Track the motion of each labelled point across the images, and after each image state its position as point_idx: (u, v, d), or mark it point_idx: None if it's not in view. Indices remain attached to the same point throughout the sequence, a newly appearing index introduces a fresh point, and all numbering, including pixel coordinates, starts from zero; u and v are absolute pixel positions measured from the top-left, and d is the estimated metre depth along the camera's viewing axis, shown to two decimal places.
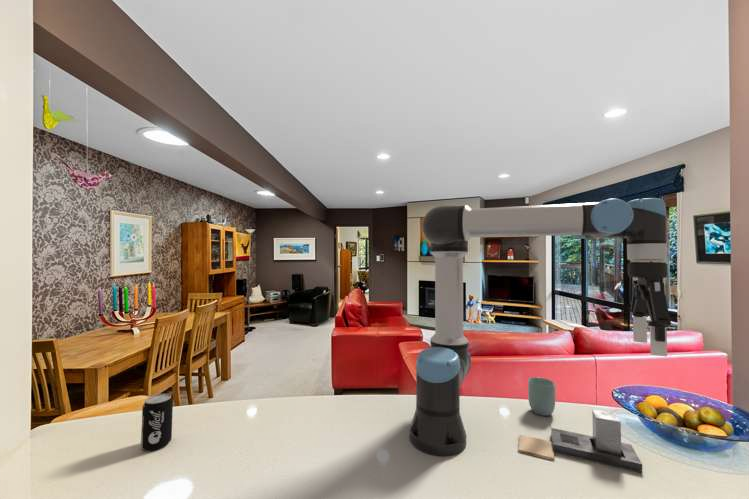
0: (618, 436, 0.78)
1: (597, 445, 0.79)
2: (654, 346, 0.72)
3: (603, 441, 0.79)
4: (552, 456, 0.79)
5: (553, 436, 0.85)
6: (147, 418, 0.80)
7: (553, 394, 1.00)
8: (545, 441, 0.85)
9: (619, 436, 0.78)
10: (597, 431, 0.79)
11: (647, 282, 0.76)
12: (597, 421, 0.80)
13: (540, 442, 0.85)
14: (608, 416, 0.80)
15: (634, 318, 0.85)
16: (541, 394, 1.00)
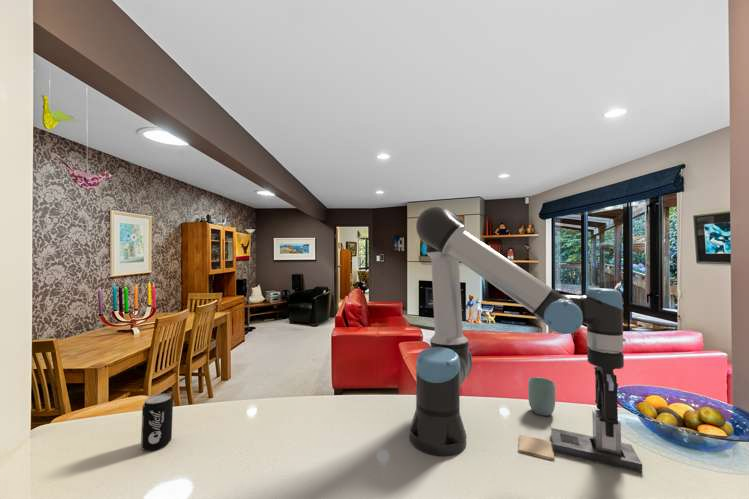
0: (618, 436, 0.78)
1: (597, 445, 0.79)
2: (605, 440, 0.78)
3: None
4: (552, 456, 0.79)
5: (553, 436, 0.85)
6: (147, 418, 0.80)
7: (553, 394, 1.00)
8: (545, 441, 0.85)
9: (619, 436, 0.78)
10: (597, 431, 0.79)
11: (604, 374, 0.78)
12: (597, 421, 0.80)
13: (540, 442, 0.85)
14: None
15: None
16: (541, 394, 1.00)
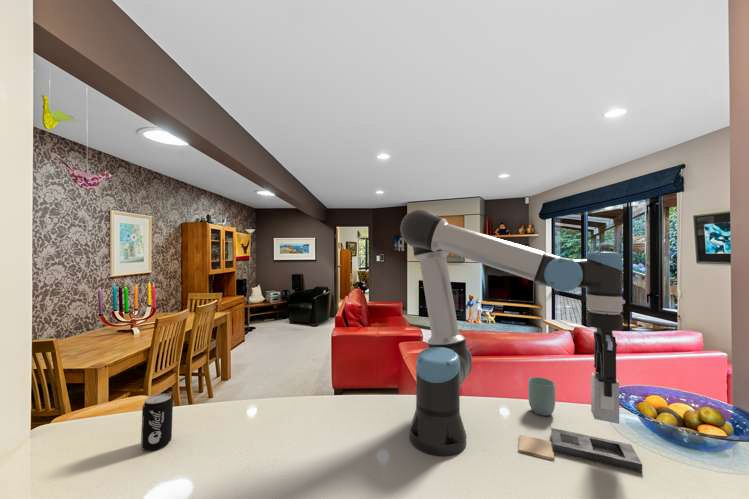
0: (616, 396, 0.78)
1: (595, 406, 0.80)
2: (603, 400, 0.79)
3: None
4: (552, 456, 0.79)
5: (553, 436, 0.85)
6: (147, 418, 0.80)
7: (553, 394, 1.00)
8: (545, 441, 0.85)
9: (617, 396, 0.78)
10: (595, 392, 0.80)
11: (603, 335, 0.79)
12: (596, 382, 0.80)
13: (540, 442, 0.85)
14: None
15: None
16: (541, 394, 1.00)
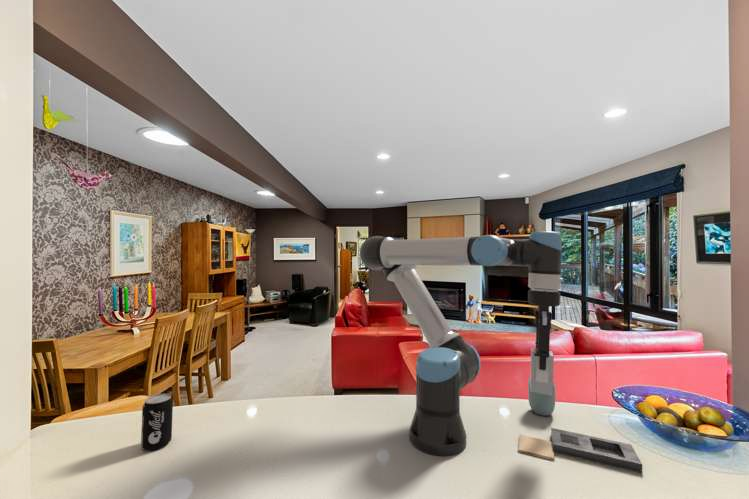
0: (551, 370, 0.81)
1: (531, 379, 0.83)
2: (538, 374, 0.82)
3: None
4: (552, 456, 0.79)
5: (553, 436, 0.85)
6: (147, 418, 0.80)
7: (553, 394, 1.00)
8: (545, 441, 0.85)
9: (551, 370, 0.81)
10: (532, 366, 0.83)
11: (540, 311, 0.81)
12: (533, 356, 0.83)
13: (540, 442, 0.85)
14: None
15: None
16: (541, 394, 1.00)
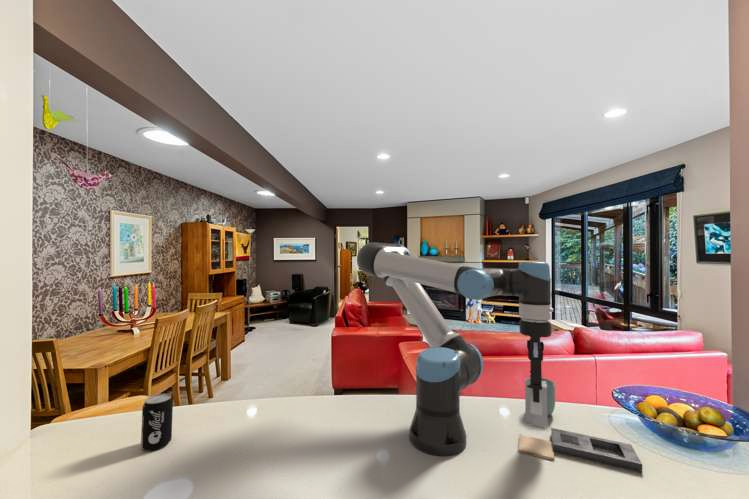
0: (545, 401, 0.81)
1: (526, 411, 0.82)
2: (532, 406, 0.81)
3: None
4: (552, 456, 0.79)
5: (553, 436, 0.85)
6: (147, 418, 0.80)
7: (553, 394, 1.00)
8: (545, 441, 0.85)
9: (545, 401, 0.81)
10: (526, 397, 0.83)
11: (531, 343, 0.81)
12: (526, 388, 0.83)
13: (540, 442, 0.85)
14: None
15: None
16: None
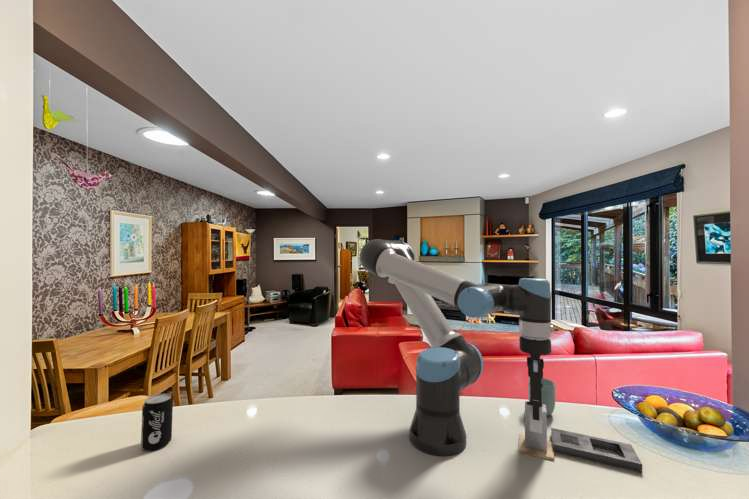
0: (544, 426, 0.81)
1: (525, 435, 0.82)
2: (532, 423, 0.78)
3: (531, 431, 0.82)
4: (552, 456, 0.79)
5: (553, 436, 0.85)
6: (147, 418, 0.80)
7: (553, 394, 1.00)
8: None
9: (545, 426, 0.81)
10: (526, 422, 0.82)
11: (531, 359, 0.81)
12: (526, 412, 0.83)
13: None
14: None
15: None
16: None
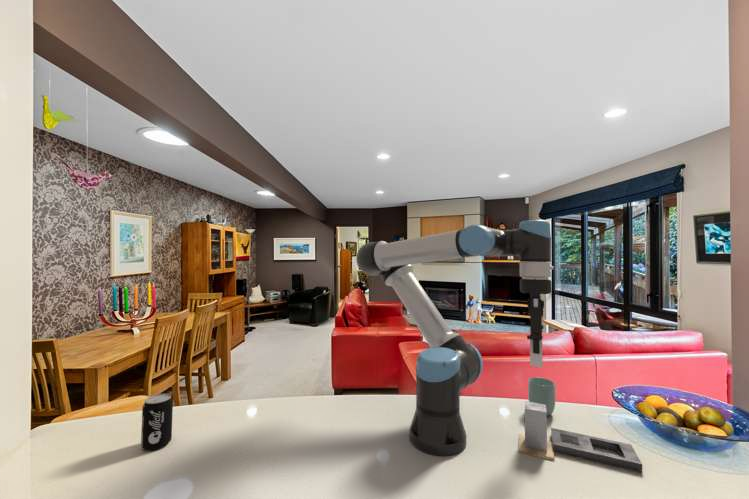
0: (544, 426, 0.81)
1: (525, 435, 0.82)
2: (532, 358, 0.78)
3: (531, 431, 0.82)
4: (552, 456, 0.79)
5: (553, 436, 0.85)
6: (147, 418, 0.80)
7: (553, 394, 1.00)
8: None
9: (545, 426, 0.81)
10: (526, 422, 0.82)
11: (531, 298, 0.82)
12: (526, 412, 0.83)
13: None
14: (537, 407, 0.83)
15: (531, 330, 0.91)
16: (541, 394, 1.00)
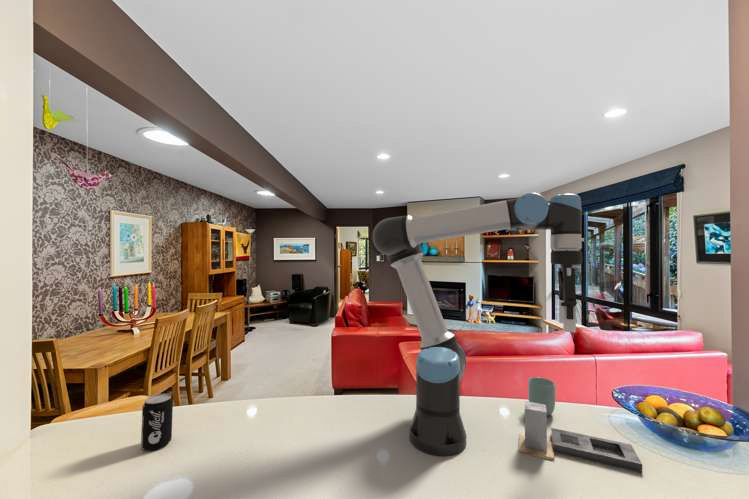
0: (544, 426, 0.81)
1: (525, 435, 0.82)
2: (566, 324, 0.82)
3: (531, 431, 0.82)
4: (552, 456, 0.79)
5: (553, 436, 0.85)
6: (147, 418, 0.80)
7: (553, 394, 1.00)
8: None
9: (545, 426, 0.81)
10: (526, 422, 0.82)
11: (563, 268, 0.86)
12: (526, 412, 0.83)
13: None
14: (537, 407, 0.83)
15: (559, 302, 0.95)
16: (541, 394, 1.00)
